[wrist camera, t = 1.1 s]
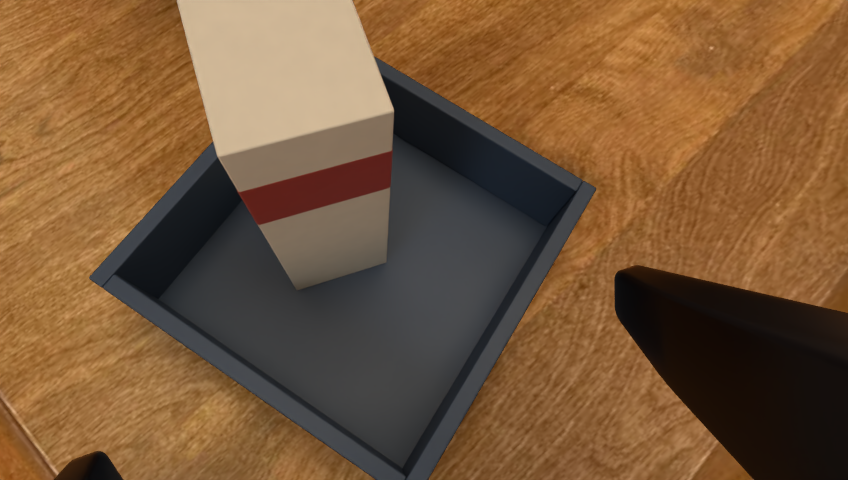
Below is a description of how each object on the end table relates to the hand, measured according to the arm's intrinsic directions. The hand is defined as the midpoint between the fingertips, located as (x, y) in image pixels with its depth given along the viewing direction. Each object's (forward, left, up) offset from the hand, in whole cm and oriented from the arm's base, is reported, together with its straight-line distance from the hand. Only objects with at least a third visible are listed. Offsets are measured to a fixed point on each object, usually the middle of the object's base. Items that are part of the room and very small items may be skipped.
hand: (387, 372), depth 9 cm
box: (+4, -4, -14) cm, 15 cm away
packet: (+6, -5, -13) cm, 15 cm away
